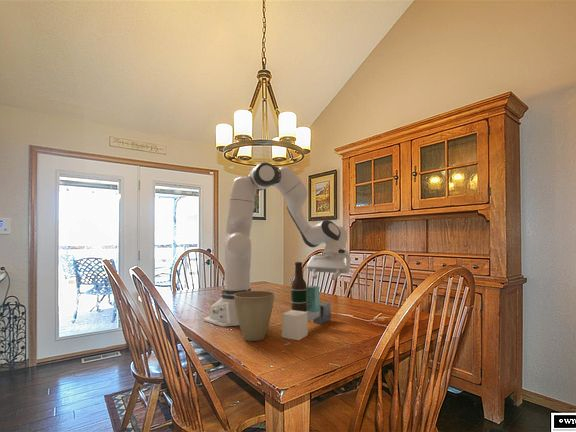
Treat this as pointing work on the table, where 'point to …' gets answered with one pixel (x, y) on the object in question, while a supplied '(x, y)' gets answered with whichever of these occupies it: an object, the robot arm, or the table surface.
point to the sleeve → (324, 313)
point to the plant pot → (254, 313)
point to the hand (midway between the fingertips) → (323, 278)
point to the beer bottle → (298, 290)
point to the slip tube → (313, 303)
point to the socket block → (294, 324)
